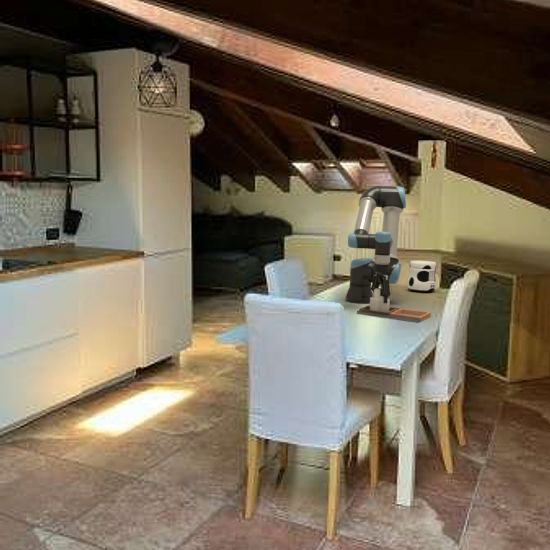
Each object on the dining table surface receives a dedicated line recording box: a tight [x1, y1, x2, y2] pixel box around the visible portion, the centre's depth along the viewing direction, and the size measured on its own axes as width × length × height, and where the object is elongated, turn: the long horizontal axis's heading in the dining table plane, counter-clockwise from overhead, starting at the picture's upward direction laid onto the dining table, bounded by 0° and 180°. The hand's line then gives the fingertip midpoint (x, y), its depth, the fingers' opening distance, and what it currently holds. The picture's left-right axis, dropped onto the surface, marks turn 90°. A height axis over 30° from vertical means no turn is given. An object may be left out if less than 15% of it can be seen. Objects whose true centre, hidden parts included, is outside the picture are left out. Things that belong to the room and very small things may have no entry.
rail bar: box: [356, 310, 421, 323], centre depth 288 cm, size 2×31×1 cm, turn 58°
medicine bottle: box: [369, 287, 391, 312], centre depth 299 cm, size 7×7×12 cm
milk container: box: [406, 259, 437, 293], centre depth 369 cm, size 17×17×18 cm
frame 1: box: [358, 304, 400, 315], centre depth 300 cm, size 15×15×2 cm
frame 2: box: [390, 308, 432, 323], centre depth 292 cm, size 15×15×2 cm
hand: (379, 307), depth 300 cm, fingers open, 11 cm apart
